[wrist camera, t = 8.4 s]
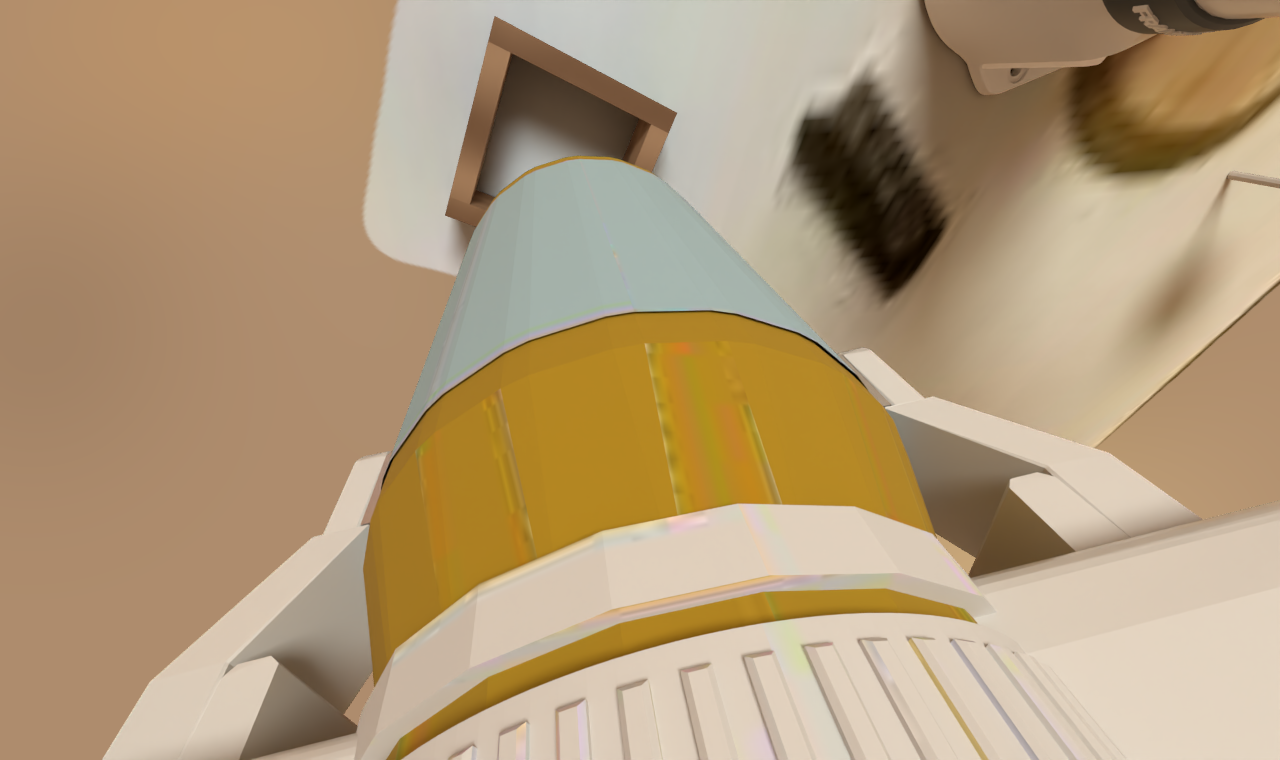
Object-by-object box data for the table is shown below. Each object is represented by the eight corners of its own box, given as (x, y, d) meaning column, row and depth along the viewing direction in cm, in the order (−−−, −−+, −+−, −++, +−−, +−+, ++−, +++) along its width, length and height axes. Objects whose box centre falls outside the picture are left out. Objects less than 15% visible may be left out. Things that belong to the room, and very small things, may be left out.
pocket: (498, 20, 29) (494, 16, 25) (662, 106, 33) (677, 113, 29) (453, 199, 34) (445, 215, 30) (600, 255, 38) (607, 275, 34)
